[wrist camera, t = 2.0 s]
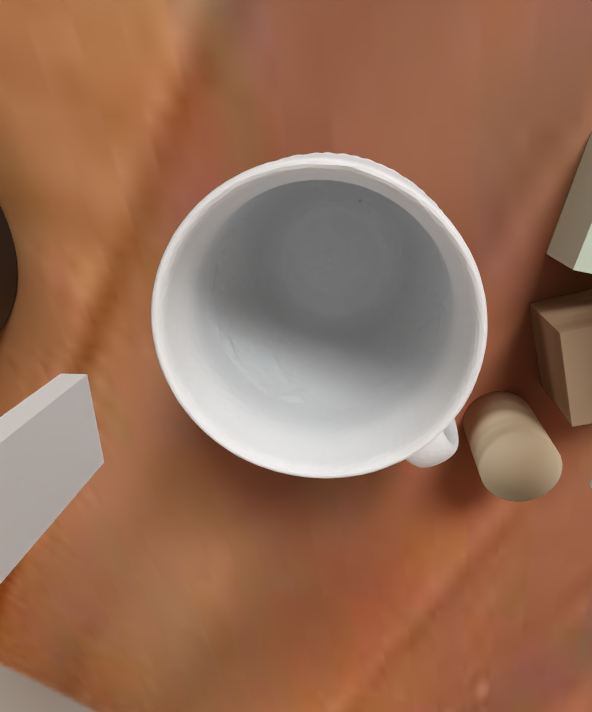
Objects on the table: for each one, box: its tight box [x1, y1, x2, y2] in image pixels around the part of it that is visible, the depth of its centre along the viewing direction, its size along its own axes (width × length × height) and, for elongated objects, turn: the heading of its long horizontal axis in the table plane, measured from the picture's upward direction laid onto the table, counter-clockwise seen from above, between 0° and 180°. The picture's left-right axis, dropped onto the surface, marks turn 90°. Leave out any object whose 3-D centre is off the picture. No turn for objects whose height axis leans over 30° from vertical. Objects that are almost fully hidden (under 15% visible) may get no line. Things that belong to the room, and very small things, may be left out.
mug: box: [151, 152, 487, 478], centre depth 23 cm, size 15×11×13 cm
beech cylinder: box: [463, 391, 562, 502], centre depth 29 cm, size 4×4×5 cm
